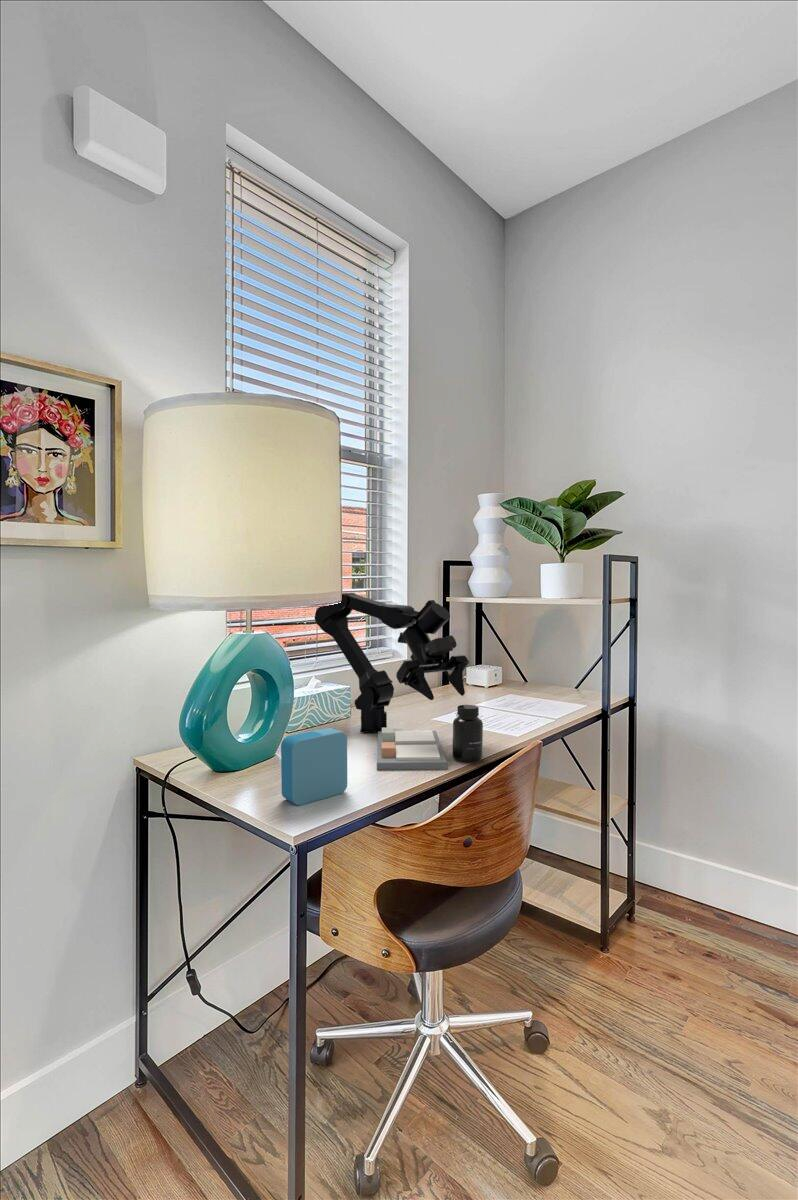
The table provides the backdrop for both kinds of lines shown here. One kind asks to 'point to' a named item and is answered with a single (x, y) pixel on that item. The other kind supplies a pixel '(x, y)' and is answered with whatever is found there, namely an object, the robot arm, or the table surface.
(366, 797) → the table surface
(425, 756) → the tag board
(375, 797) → the table surface
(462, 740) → the supplement bottle
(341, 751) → the blue rounded square block
